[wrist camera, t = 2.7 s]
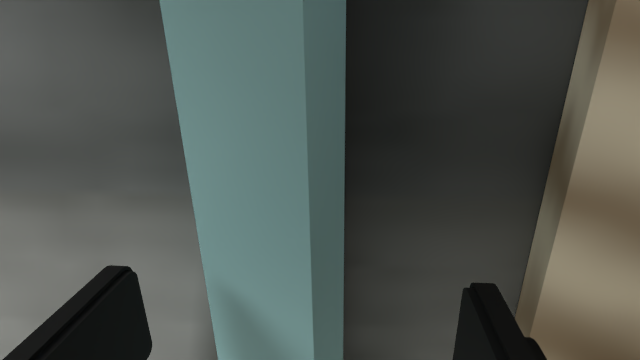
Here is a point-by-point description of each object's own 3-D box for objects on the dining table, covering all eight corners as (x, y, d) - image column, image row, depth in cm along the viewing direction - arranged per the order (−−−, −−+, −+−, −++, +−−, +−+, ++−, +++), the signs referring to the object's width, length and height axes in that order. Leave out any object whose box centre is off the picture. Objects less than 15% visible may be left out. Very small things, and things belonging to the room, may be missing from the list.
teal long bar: (210, -153, 13) (36, -281, 7) (389, -186, 11) (329, -386, 6) (265, 380, 22) (206, 492, 17) (364, 409, 20) (334, 544, 15)
